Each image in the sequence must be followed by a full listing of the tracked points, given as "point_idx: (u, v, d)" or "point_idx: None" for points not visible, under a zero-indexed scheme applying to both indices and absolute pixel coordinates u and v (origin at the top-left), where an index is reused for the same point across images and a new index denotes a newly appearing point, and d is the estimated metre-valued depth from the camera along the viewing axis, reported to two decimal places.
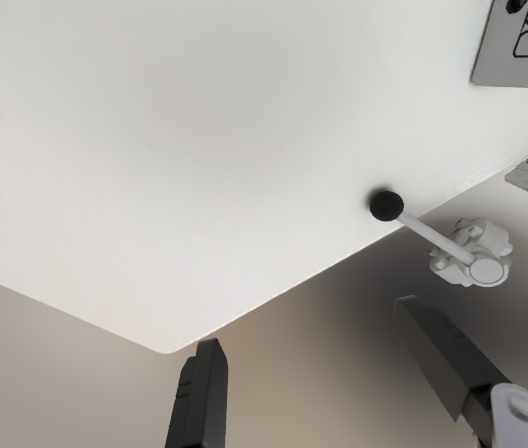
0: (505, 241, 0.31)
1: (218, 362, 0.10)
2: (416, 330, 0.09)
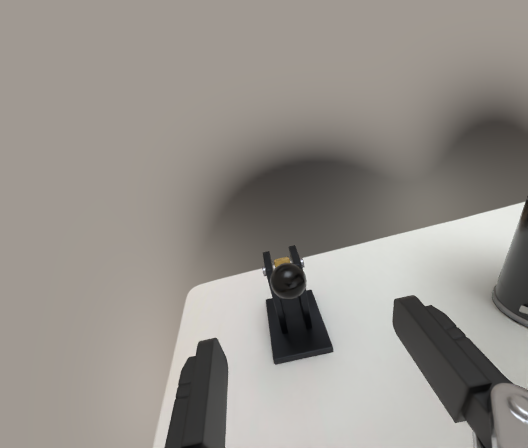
0: None
1: (218, 362, 0.10)
2: (416, 330, 0.09)
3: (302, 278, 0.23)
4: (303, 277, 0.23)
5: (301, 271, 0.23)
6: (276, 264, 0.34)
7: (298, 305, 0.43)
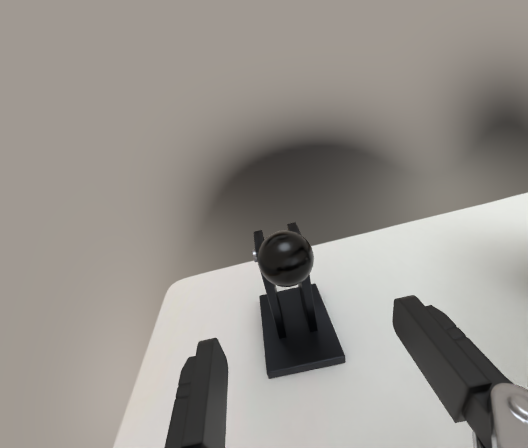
0: None
1: (218, 362, 0.10)
2: (416, 330, 0.09)
3: (307, 252, 0.14)
4: (309, 251, 0.14)
5: (306, 242, 0.15)
6: None
7: (299, 302, 0.34)
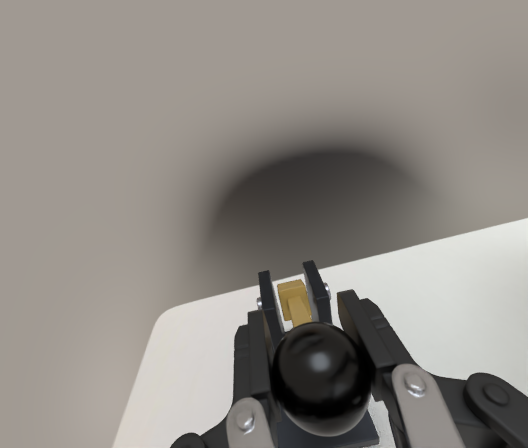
0: None
1: (266, 330, 0.11)
2: (349, 320, 0.10)
3: (365, 380, 0.08)
4: (366, 374, 0.08)
5: (359, 354, 0.08)
6: (282, 296, 0.19)
7: None
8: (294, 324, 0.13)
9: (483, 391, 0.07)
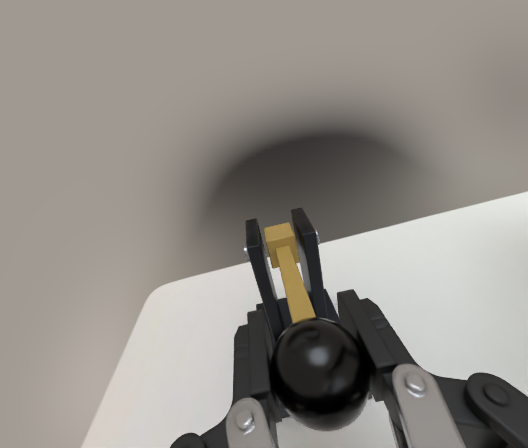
0: None
1: (266, 330, 0.11)
2: (349, 320, 0.10)
3: (367, 390, 0.08)
4: (368, 381, 0.08)
5: (363, 363, 0.08)
6: (270, 246, 0.18)
7: None
8: (287, 295, 0.13)
9: (483, 391, 0.07)
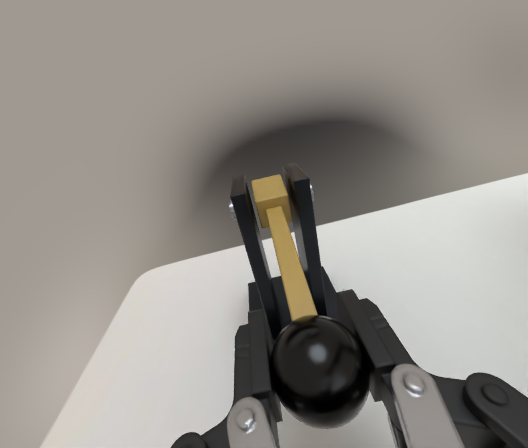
0: None
1: (267, 330, 0.11)
2: (348, 320, 0.10)
3: (367, 395, 0.08)
4: (369, 385, 0.08)
5: (366, 372, 0.08)
6: (260, 206, 0.16)
7: None
8: (283, 276, 0.12)
9: (482, 391, 0.07)
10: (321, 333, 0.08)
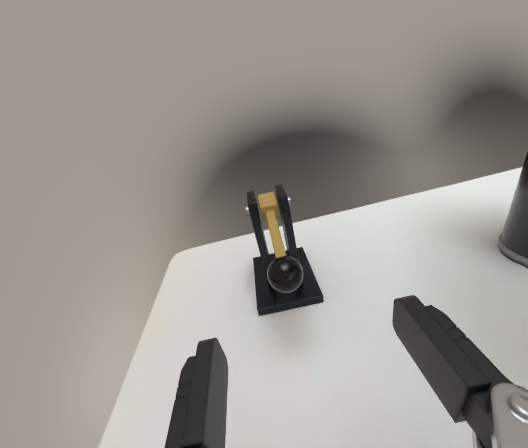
0: None
1: (218, 362, 0.10)
2: (416, 330, 0.09)
3: (301, 280, 0.23)
4: (302, 277, 0.23)
5: (300, 272, 0.23)
6: (262, 209, 0.30)
7: None
8: (273, 242, 0.26)
9: None
10: (285, 259, 0.23)
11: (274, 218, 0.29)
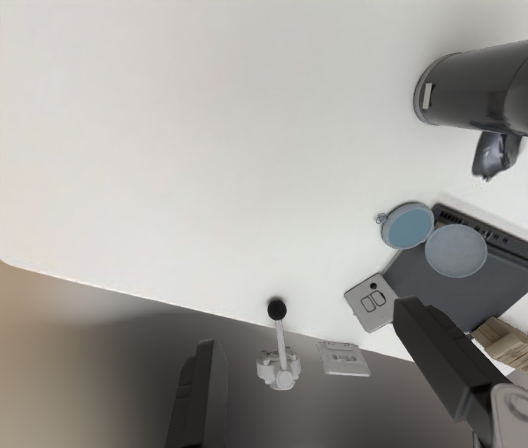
0: (298, 372, 0.54)
1: (218, 362, 0.10)
2: (416, 330, 0.09)
3: None
4: None
5: None
6: None
7: None
8: None
9: None
10: None
11: None
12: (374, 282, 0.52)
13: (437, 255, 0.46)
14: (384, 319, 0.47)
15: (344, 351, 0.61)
